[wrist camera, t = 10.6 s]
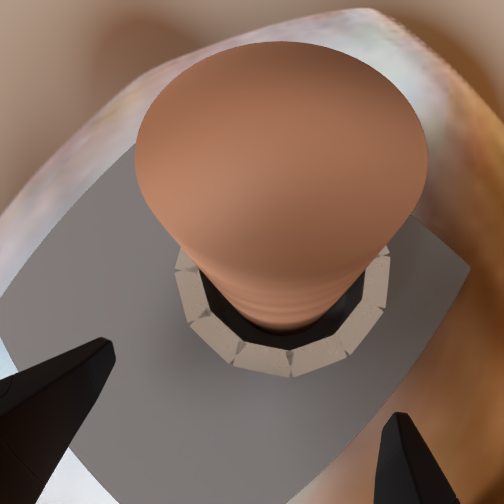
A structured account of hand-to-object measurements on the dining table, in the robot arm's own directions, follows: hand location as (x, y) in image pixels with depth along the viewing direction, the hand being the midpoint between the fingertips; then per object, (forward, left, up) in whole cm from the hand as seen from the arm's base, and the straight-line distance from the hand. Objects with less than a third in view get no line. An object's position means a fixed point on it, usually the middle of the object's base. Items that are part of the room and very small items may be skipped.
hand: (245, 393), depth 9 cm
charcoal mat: (+5, 0, -7) cm, 9 cm away
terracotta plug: (+2, -4, -7) cm, 8 cm away
